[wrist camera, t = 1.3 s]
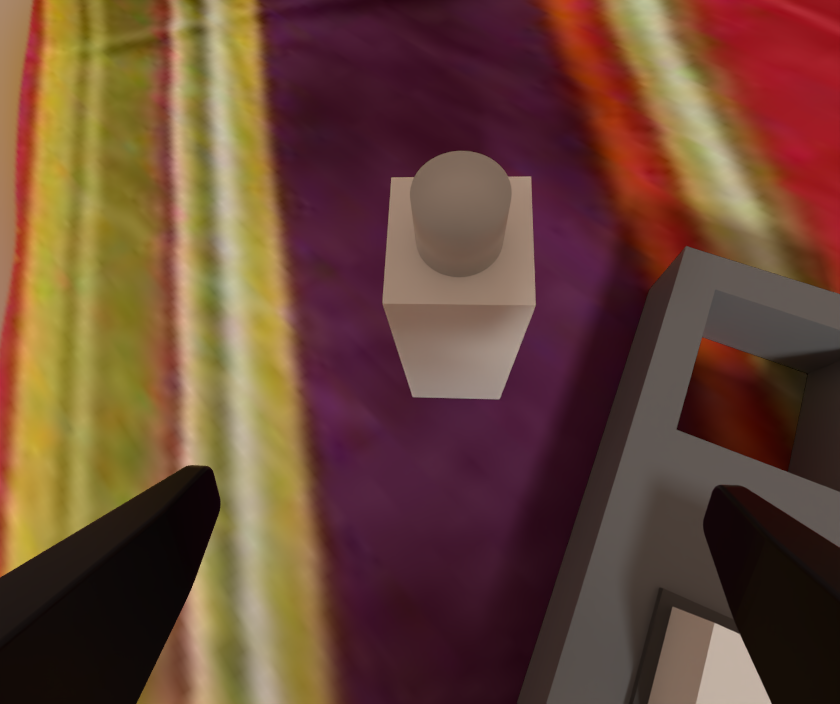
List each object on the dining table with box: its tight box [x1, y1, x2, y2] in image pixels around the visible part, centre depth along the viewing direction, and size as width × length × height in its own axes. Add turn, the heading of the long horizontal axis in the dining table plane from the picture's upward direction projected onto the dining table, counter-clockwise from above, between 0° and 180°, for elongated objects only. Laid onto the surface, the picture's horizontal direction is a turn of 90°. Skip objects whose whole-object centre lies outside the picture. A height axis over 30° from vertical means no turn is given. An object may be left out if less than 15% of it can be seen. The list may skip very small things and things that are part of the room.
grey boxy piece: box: [517, 246, 840, 704], centre depth 17 cm, size 21×9×7 cm, turn 157°
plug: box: [382, 151, 536, 399], centre depth 18 cm, size 4×4×12 cm
